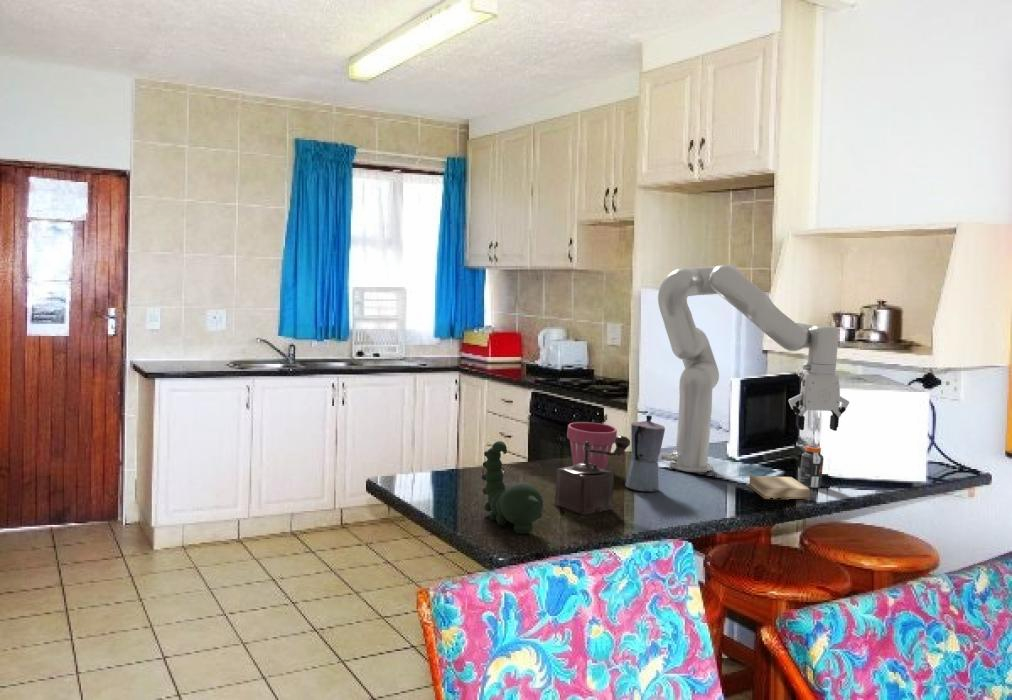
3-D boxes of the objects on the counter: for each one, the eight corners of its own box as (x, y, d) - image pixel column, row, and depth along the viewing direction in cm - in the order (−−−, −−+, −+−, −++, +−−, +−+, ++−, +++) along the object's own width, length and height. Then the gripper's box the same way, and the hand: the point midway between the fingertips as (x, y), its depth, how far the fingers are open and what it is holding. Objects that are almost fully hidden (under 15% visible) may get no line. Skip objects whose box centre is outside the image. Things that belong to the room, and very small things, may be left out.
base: (764, 498, 233) (765, 487, 233) (747, 485, 246) (748, 475, 246) (810, 500, 235) (811, 489, 234) (791, 487, 247) (791, 476, 247)
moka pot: (666, 485, 242) (672, 414, 239) (651, 498, 228) (657, 423, 225) (633, 479, 246) (638, 409, 243) (616, 492, 232) (621, 418, 229)
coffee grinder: (584, 516, 209) (589, 443, 207) (553, 504, 218) (557, 433, 216) (629, 507, 219) (634, 436, 217) (597, 496, 227) (602, 428, 225)
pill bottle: (822, 489, 247) (826, 449, 245) (800, 486, 248) (803, 447, 247) (819, 483, 253) (822, 445, 251) (797, 481, 254) (801, 443, 252)
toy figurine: (471, 518, 209) (517, 543, 186) (472, 439, 208) (519, 454, 186) (507, 515, 213) (556, 539, 190) (508, 437, 212) (558, 452, 190)
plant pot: (624, 473, 252) (627, 429, 251) (586, 478, 244) (589, 433, 243) (592, 462, 264) (595, 420, 263) (555, 466, 256) (557, 423, 255)
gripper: (797, 370, 242) (792, 431, 244) (857, 372, 243) (852, 432, 245) (786, 367, 249) (781, 426, 251) (844, 368, 251) (839, 427, 253)
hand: (816, 429), depth 248 cm, fingers open, 9 cm apart
